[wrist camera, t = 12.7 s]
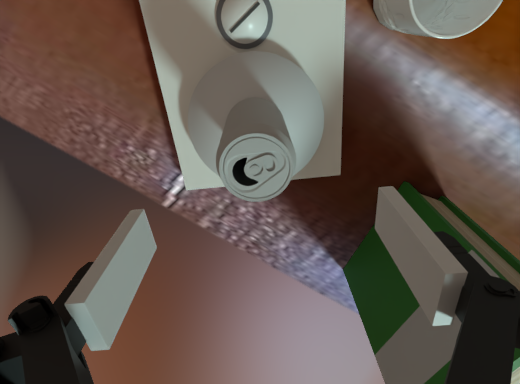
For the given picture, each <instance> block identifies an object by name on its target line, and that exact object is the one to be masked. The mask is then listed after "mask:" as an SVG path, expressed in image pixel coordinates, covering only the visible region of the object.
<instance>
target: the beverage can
mask: <svg viewBox="0 0 520 384" xmlns="http://www.w3.org/2000/svg"><path fill="white" fill-rule="evenodd" d="M216 168H217V172H218V174H219V177H220V178H221V180H222V182H223V184H224V186H225V187H226V188H227V189H228V190H229V191H230V192H231V193H232V194H233V195H235V196H237V197H238V198H240V199H243V200H247V201H253V202H259V201H266V200H269V199H272V198H274V197H276V196H277V195H279V194H280V193H281V192H283V191H284V190H285V188H286V187H287V186H288V184H289V183H290V181H291V178H292V176H293V174H294V171H295V168H296V153H295V149H294V146H293V144H292V141H291V138H290V135H289V132H288V129H287V126H286V124H285V121H284V118H283V115H282V113H281V111H280V110H279V109H278V107H277V106H276V105H274V104H273V103H272V102H270V101H268V100H266V99H263V98H258V97H253V98H247V99H244V100H242V101H240V102H238V103H237V104H236V105H235V106H234V107H233V108H232V109H231V110H230V112H229V114H228V116H227V119H226V123H225V126H224V129H223V133H222V136H221V139H220V143H219V146H218V149H217V153H216Z"/></svg>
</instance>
